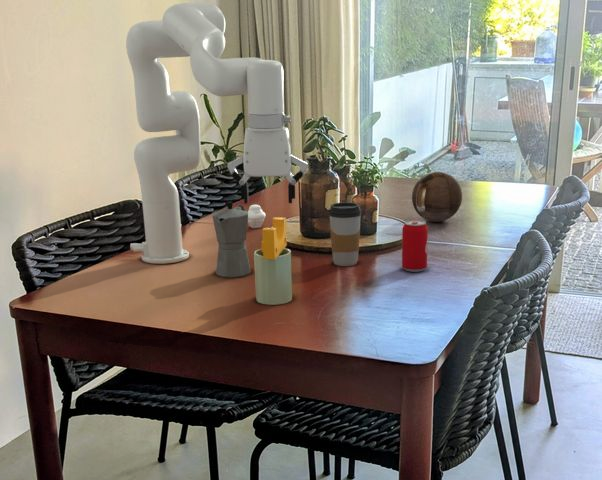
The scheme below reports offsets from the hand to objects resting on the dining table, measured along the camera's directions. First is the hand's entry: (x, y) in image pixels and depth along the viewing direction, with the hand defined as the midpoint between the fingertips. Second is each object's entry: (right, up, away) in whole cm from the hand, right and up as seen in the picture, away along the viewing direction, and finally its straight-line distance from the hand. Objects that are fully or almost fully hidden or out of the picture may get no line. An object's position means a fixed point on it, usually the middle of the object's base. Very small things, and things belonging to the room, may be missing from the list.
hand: (268, 202), depth 189 cm
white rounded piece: (-7, +5, +74) cm, 74 cm away
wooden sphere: (+48, +7, +75) cm, 90 cm away
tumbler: (+1, -21, +7) cm, 22 cm away
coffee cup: (+19, -10, +34) cm, 40 cm away
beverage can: (+35, -12, +27) cm, 46 cm away
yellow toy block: (+1, -11, +3) cm, 11 cm away
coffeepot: (-10, -13, +29) cm, 33 cm away
